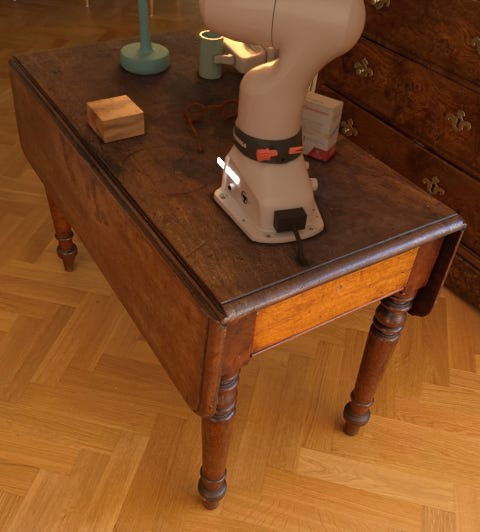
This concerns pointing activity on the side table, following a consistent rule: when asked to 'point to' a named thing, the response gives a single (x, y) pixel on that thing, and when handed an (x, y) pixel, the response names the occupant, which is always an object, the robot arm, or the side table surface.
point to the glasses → (203, 114)
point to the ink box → (320, 125)
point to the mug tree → (144, 49)
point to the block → (115, 118)
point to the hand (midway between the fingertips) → (207, 53)
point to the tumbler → (210, 54)
